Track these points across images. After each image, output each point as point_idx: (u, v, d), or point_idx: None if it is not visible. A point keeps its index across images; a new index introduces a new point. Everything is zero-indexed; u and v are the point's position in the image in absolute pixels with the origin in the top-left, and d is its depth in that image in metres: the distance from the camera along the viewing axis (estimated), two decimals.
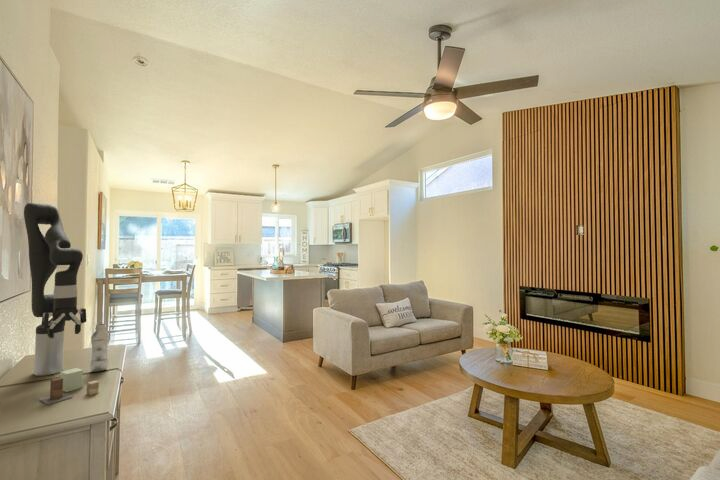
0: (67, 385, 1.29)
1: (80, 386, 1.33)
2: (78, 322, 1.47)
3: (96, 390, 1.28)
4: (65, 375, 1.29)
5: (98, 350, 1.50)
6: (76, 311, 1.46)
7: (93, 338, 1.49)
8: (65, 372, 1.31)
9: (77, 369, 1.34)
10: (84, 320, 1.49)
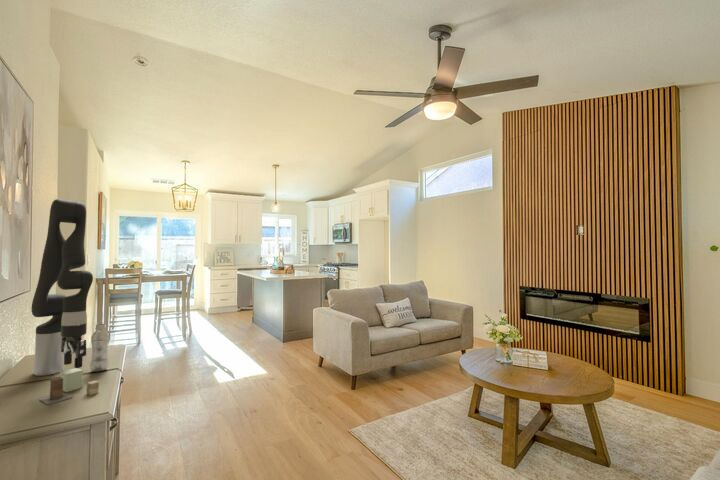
0: (67, 385, 1.29)
1: (80, 386, 1.33)
2: None
3: (96, 390, 1.28)
4: (65, 375, 1.29)
5: (98, 350, 1.50)
6: None
7: (93, 338, 1.49)
8: (65, 372, 1.31)
9: (77, 369, 1.34)
10: None
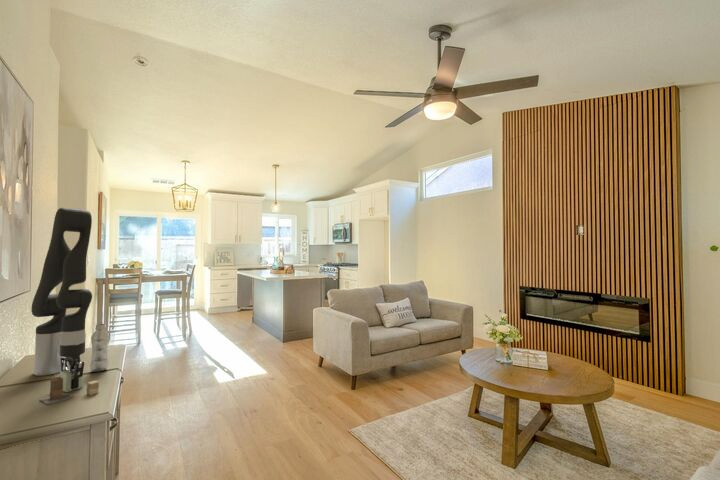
0: (67, 385, 1.29)
1: (80, 386, 1.33)
2: None
3: (96, 390, 1.28)
4: (65, 375, 1.29)
5: (98, 350, 1.50)
6: None
7: (93, 338, 1.49)
8: (65, 372, 1.31)
9: None
10: None
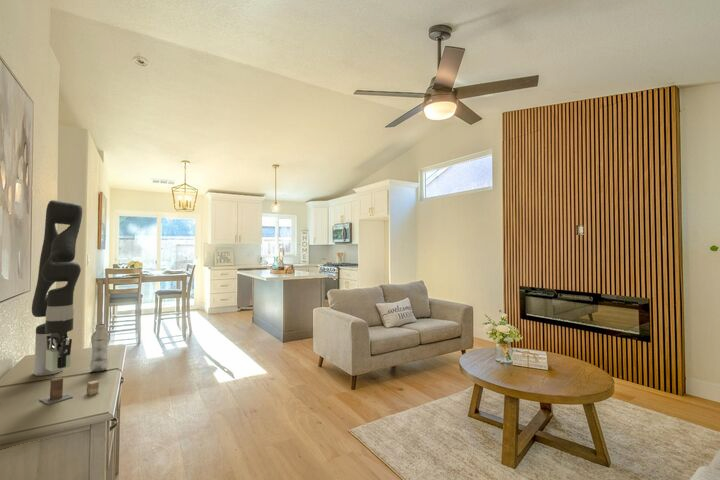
0: (53, 364, 1.20)
1: (68, 365, 1.24)
2: None
3: (96, 390, 1.28)
4: (51, 353, 1.20)
5: (98, 350, 1.50)
6: None
7: (93, 338, 1.49)
8: (51, 350, 1.22)
9: None
10: None
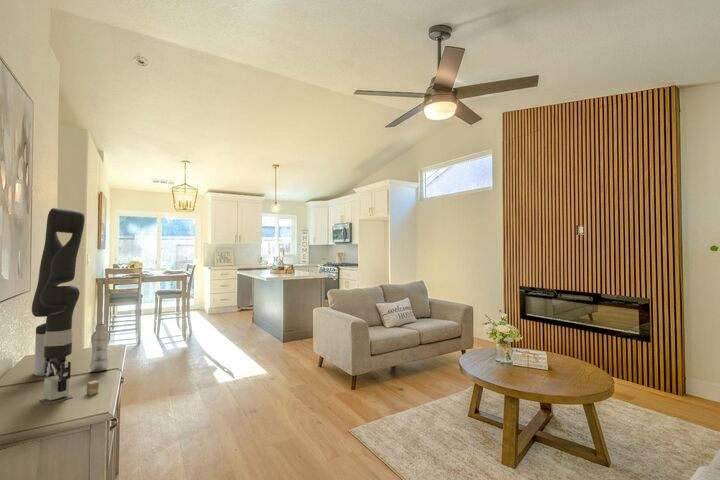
0: (51, 393, 1.20)
1: (66, 394, 1.23)
2: None
3: (96, 390, 1.28)
4: (49, 382, 1.20)
5: (98, 350, 1.50)
6: None
7: (93, 338, 1.49)
8: (50, 379, 1.21)
9: None
10: None
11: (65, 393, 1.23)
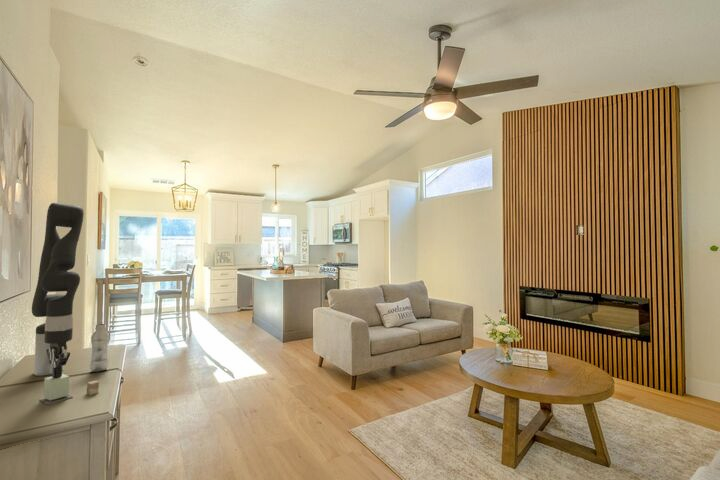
0: (51, 393, 1.20)
1: (66, 394, 1.23)
2: None
3: (96, 390, 1.28)
4: (49, 382, 1.20)
5: (98, 350, 1.50)
6: None
7: (93, 338, 1.49)
8: (50, 379, 1.21)
9: (63, 375, 1.25)
10: None
11: (65, 393, 1.23)
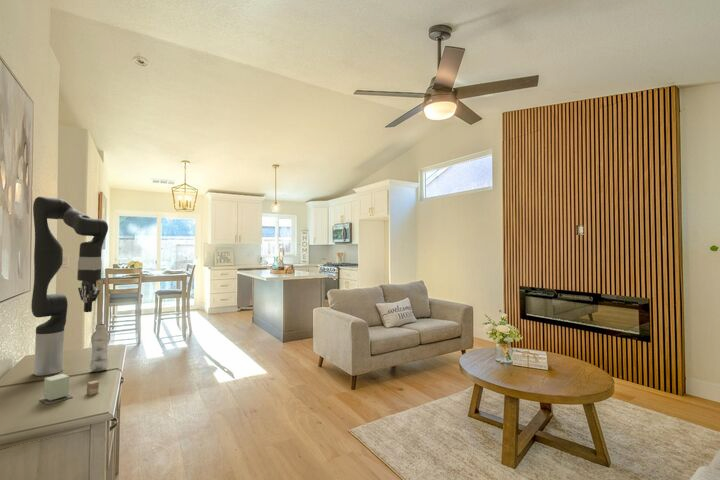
0: (51, 393, 1.20)
1: (66, 394, 1.23)
2: None
3: (96, 390, 1.28)
4: (49, 382, 1.20)
5: (98, 350, 1.50)
6: None
7: (93, 338, 1.49)
8: (50, 379, 1.21)
9: (63, 375, 1.25)
10: None
11: (65, 393, 1.23)
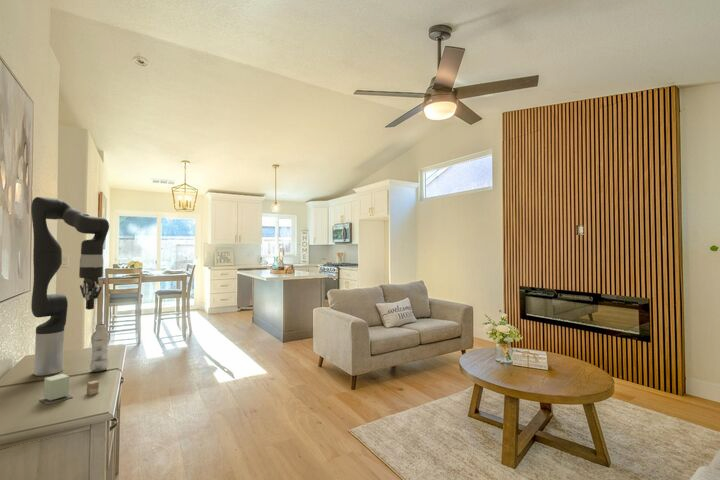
0: (51, 393, 1.20)
1: (66, 394, 1.23)
2: None
3: (96, 390, 1.28)
4: (49, 382, 1.20)
5: (98, 350, 1.50)
6: None
7: (93, 338, 1.49)
8: (50, 379, 1.21)
9: (63, 375, 1.25)
10: None
11: (65, 393, 1.23)
